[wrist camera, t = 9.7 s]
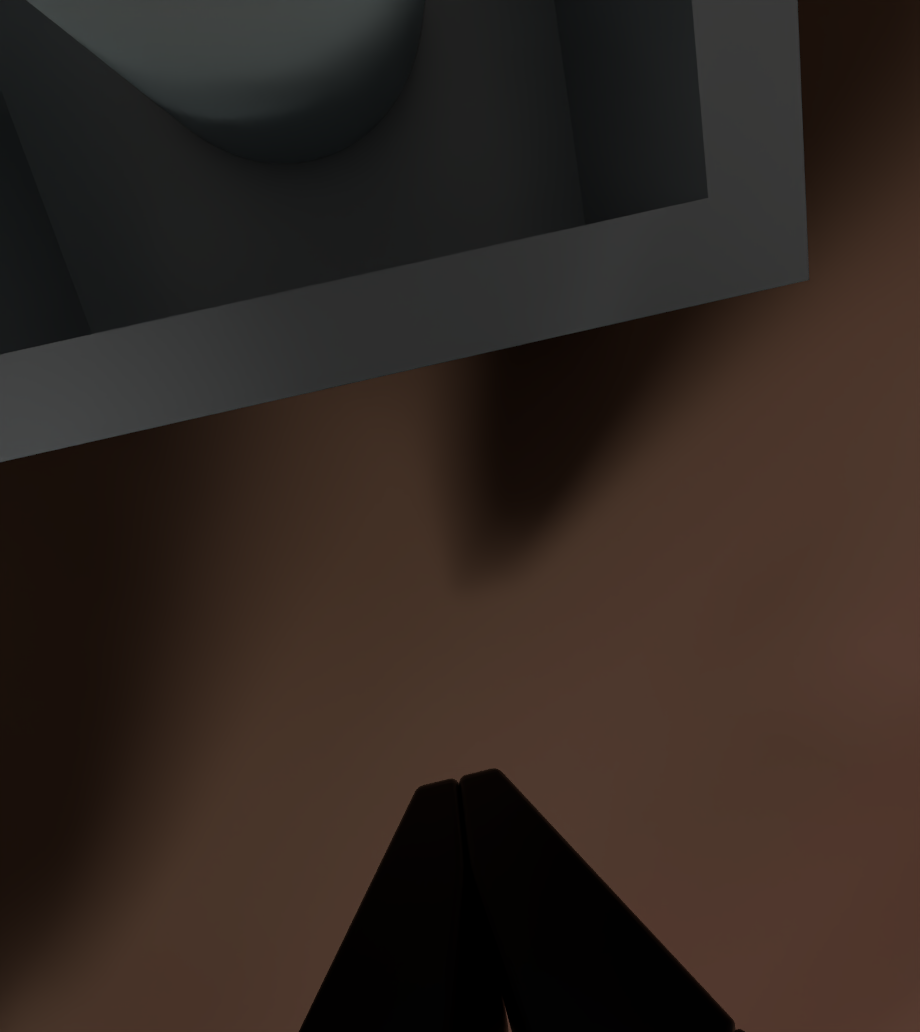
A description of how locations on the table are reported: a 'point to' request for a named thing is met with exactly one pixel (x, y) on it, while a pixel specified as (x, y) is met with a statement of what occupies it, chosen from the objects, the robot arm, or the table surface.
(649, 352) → the table surface
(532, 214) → the tray
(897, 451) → the table surface
